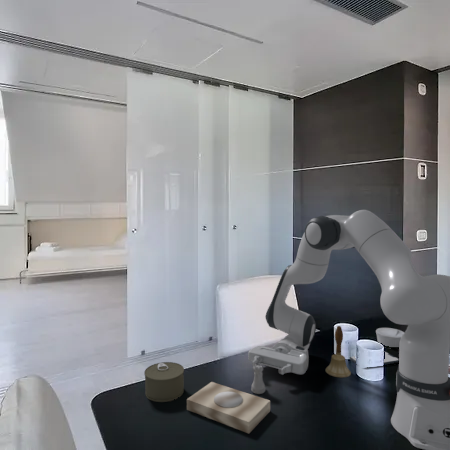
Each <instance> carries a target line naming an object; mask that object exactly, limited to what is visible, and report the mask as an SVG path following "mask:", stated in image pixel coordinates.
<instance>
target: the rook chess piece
mask: <svg viewBox="0 0 450 450" xmlns="http://www.w3.org/2000/svg"><path fill="white" fill-rule="evenodd" d="M252 370H253V375H254V377H253V382H252V384H251V388H250V390H251V393H253V394H255V395H262V394H264V393H265V392H266V385H265V382H264V380H263V374H264V373H263V371H264V367H263V365H262V364H259V365H257V364H256V366H255V365H254V367H253V366H252Z"/></svg>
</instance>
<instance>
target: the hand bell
mask: <svg viewBox="0 0 450 450" xmlns="http://www.w3.org/2000/svg"><path fill="white" fill-rule="evenodd" d="M334 338H335V339H334V340H335V344H336V347H335V348H336V349H335V353H334V354H332V355H331V358H330V363H329V365H328V366H326V368H325V373H326V374H328V376H332V377H335V378H348V377H350V376H351V375H352V372H351V370H349V368H348V367H347V363H346V357H345V356H344V355H343V354H342V343H343V339H344V333H343V329H342V326H341V325H337V327H336V330H335V332H334Z"/></svg>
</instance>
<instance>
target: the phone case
mask: <svg viewBox="0 0 450 450" xmlns="http://www.w3.org/2000/svg"><path fill="white" fill-rule="evenodd" d="M384 352H385V359H384V364H390V363H394V362H398V361H399V358H398V357H396V356H395V355H393V354H391V353H389V352H387V351H384ZM353 356H354V357H353ZM353 356H352V357H351V356H350V357H349V361H351V362H352V363H354V364H355V363H356V358H355V356H356V355H353Z"/></svg>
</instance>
